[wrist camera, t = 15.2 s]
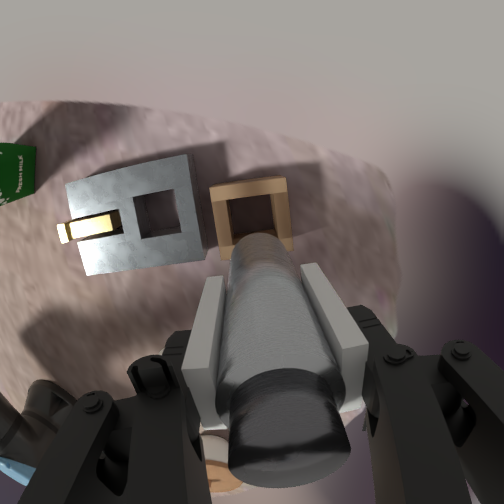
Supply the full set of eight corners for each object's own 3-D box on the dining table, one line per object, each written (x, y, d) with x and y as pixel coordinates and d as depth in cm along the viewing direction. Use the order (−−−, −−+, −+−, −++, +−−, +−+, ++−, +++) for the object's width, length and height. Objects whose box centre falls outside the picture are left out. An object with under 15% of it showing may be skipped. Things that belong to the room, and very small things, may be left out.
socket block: (99, 265, 38) (86, 275, 34) (80, 181, 34) (65, 184, 30) (208, 249, 37) (204, 259, 34) (192, 154, 34) (186, 154, 30)
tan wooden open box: (224, 247, 37) (221, 260, 33) (213, 184, 35) (209, 187, 30) (287, 238, 37) (293, 250, 32) (280, 175, 35) (285, 177, 30)
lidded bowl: (168, 441, 49) (159, 483, 39) (206, 418, 47) (201, 466, 36) (215, 464, 52) (213, 504, 42) (255, 444, 50) (258, 488, 39)
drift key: (74, 236, 36) (61, 243, 32) (70, 219, 35) (57, 225, 32) (122, 226, 36) (111, 233, 32) (118, 208, 35) (106, 213, 32)
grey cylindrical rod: (235, 290, 19) (227, 497, 6) (226, 236, 18) (190, 426, 5) (290, 282, 19) (357, 479, 6) (284, 228, 18) (378, 399, 5)
